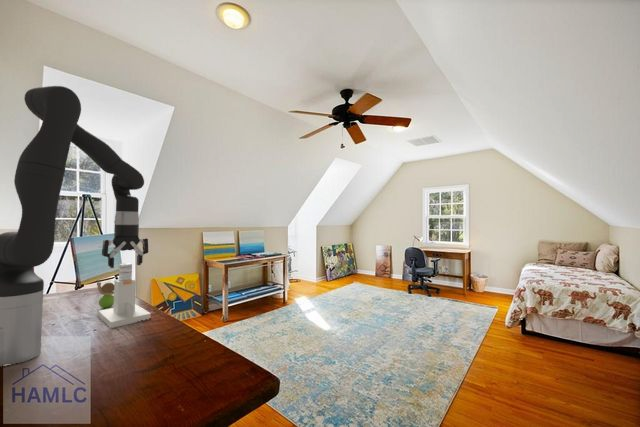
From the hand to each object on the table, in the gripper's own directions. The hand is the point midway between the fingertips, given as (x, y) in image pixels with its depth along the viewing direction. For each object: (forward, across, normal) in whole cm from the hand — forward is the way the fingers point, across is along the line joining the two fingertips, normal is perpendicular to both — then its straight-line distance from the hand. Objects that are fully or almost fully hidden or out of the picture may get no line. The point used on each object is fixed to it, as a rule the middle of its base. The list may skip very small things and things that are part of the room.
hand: (125, 266), depth 102 cm
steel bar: (+16, 0, 0) cm, 16 cm away
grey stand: (+19, 0, 0) cm, 19 cm away
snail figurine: (+19, -2, +18) cm, 27 cm away
